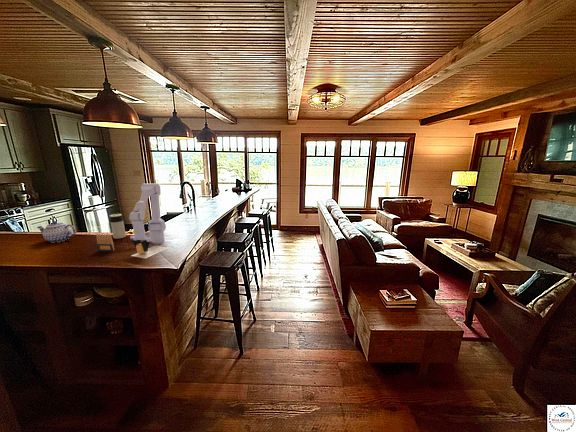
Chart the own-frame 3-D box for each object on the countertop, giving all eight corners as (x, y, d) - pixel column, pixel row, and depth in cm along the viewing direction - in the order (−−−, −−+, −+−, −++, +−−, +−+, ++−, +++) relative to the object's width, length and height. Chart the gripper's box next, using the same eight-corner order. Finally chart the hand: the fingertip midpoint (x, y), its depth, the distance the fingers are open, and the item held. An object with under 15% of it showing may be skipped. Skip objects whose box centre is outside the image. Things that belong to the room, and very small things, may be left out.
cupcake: (135, 252, 143) (134, 245, 142) (143, 249, 148) (142, 242, 147) (141, 253, 141) (140, 246, 140) (149, 250, 146) (148, 243, 145)
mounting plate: (131, 257, 142) (129, 250, 141) (155, 247, 159) (154, 240, 157) (145, 260, 138) (144, 253, 137) (169, 249, 155) (168, 242, 154)
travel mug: (127, 235, 183) (124, 213, 178) (122, 238, 175) (118, 216, 170) (117, 235, 181) (112, 213, 177) (111, 239, 174) (106, 216, 169)
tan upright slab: (115, 250, 153) (112, 233, 150) (113, 251, 151) (110, 234, 148) (100, 249, 154) (96, 233, 151) (98, 251, 152) (94, 234, 149)
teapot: (85, 236, 178) (81, 218, 175) (68, 243, 163) (63, 224, 160) (51, 237, 177) (46, 218, 173) (31, 244, 162) (25, 224, 158)
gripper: (124, 231, 140) (128, 251, 143) (142, 233, 135) (145, 254, 139) (135, 227, 146) (138, 247, 149) (152, 230, 142) (155, 250, 145)
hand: (142, 250), depth 144 cm, fingers closed on cupcake, 5 cm apart
